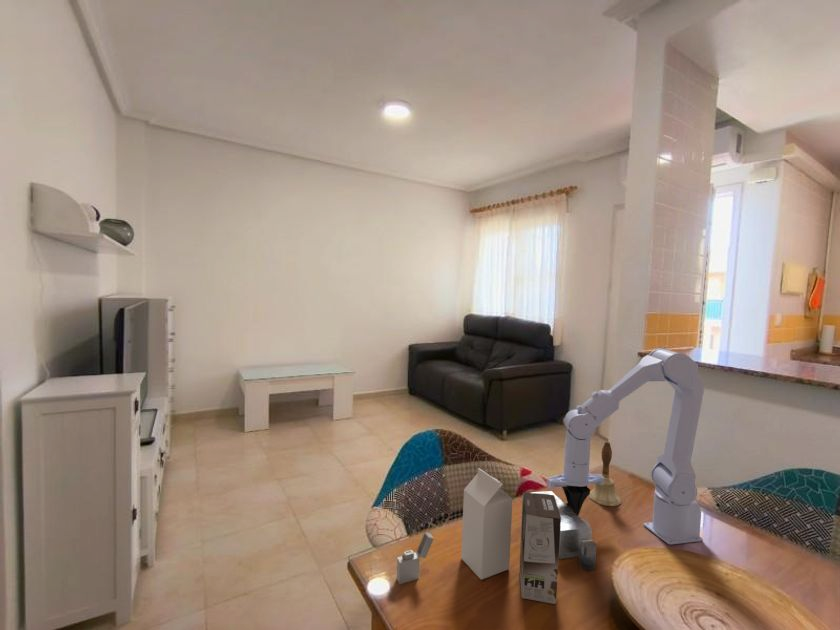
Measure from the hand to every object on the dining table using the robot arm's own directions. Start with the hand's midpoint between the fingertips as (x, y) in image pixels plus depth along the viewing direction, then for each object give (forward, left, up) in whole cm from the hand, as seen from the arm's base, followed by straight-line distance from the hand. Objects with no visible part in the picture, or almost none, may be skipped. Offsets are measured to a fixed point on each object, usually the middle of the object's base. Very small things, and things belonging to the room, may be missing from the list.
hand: (573, 513), depth 98 cm
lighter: (+42, +12, -3) cm, 44 cm away
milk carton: (+27, +11, -3) cm, 29 cm away
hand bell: (-16, -9, -3) cm, 19 cm away
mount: (+7, +4, -2) cm, 8 cm away
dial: (+6, +15, -2) cm, 16 cm away
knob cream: (+5, +7, -1) cm, 9 cm away
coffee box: (+19, +18, -3) cm, 26 cm away
